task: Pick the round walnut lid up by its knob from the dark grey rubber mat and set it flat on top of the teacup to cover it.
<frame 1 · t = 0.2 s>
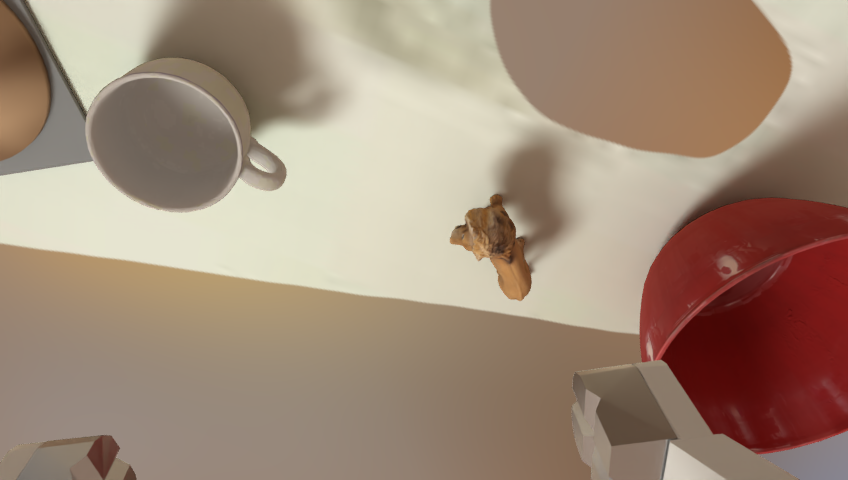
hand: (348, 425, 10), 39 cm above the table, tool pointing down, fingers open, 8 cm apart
teacup: (212, 116, 46), on the table
mixing bowl: (717, 256, 61), on the table
lion figurine: (490, 228, 56), on the table
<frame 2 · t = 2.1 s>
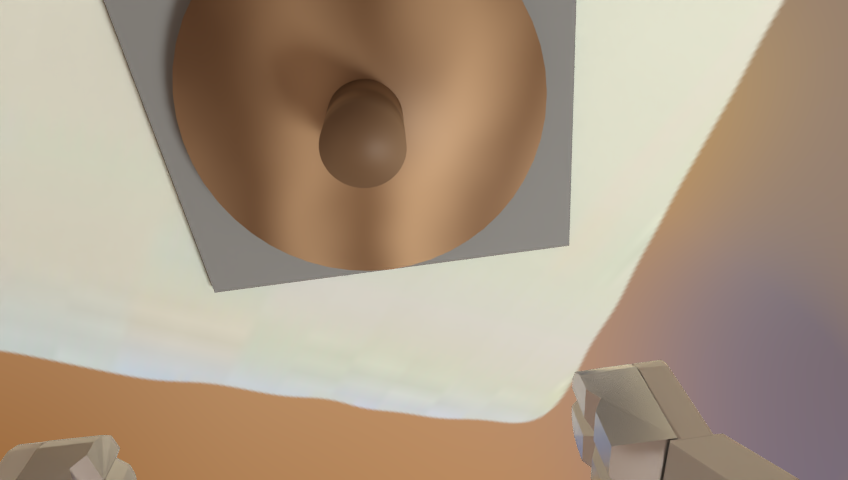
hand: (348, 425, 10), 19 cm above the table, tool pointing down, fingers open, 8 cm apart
lid: (364, 128, 24), on the mat
mat: (365, 109, 26), on the table
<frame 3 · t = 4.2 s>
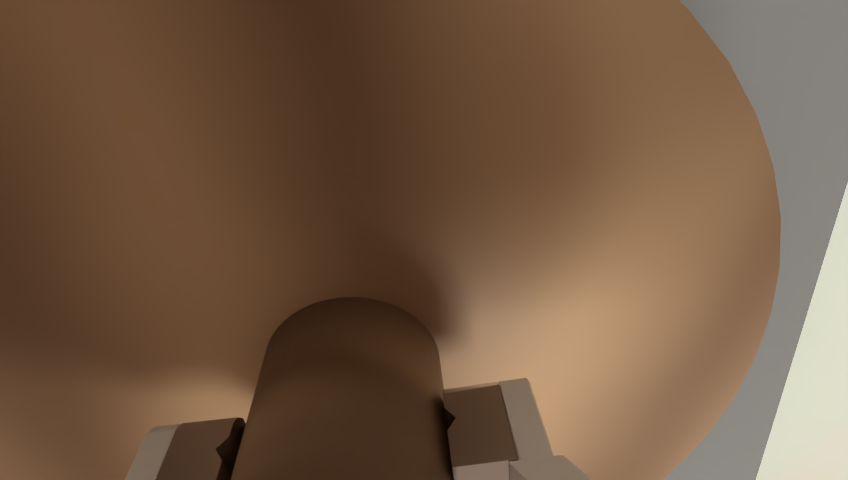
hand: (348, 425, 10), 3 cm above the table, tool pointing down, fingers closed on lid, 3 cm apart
lid: (349, 431, 10), on the mat, touching gripper
mat: (355, 329, 12), on the table
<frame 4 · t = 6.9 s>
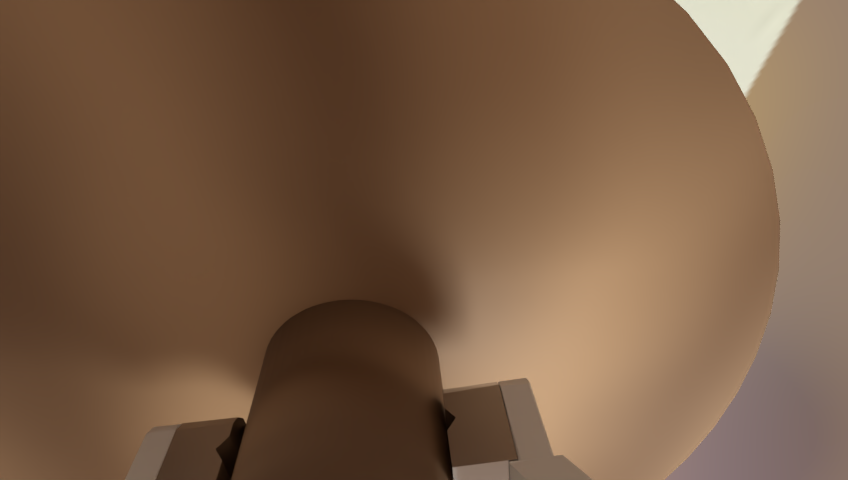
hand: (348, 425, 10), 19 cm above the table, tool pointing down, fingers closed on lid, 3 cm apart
lid: (348, 433, 10), point 19 cm above the table, touching gripper
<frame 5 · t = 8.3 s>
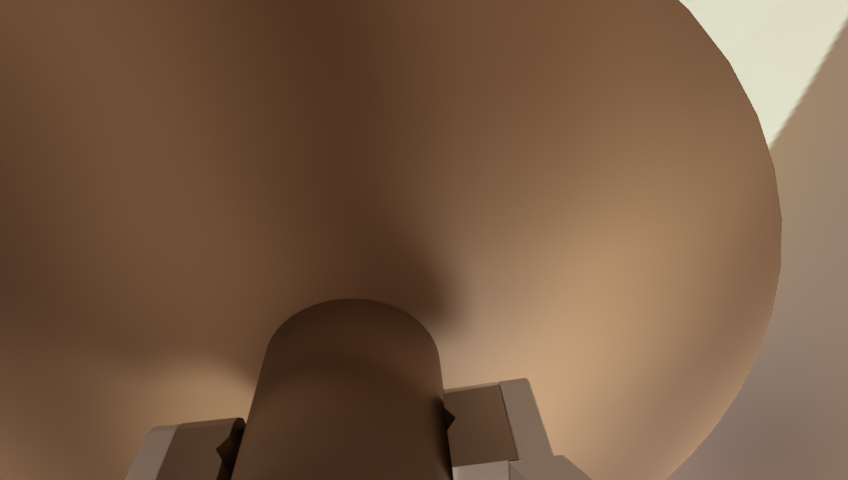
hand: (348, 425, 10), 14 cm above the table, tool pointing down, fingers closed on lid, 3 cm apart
lid: (349, 433, 10), point 15 cm above the table, touching gripper
when the fingers open (12 cm above the table, at t = 9.4 s): lid drops 2 cm, resting on teacup.
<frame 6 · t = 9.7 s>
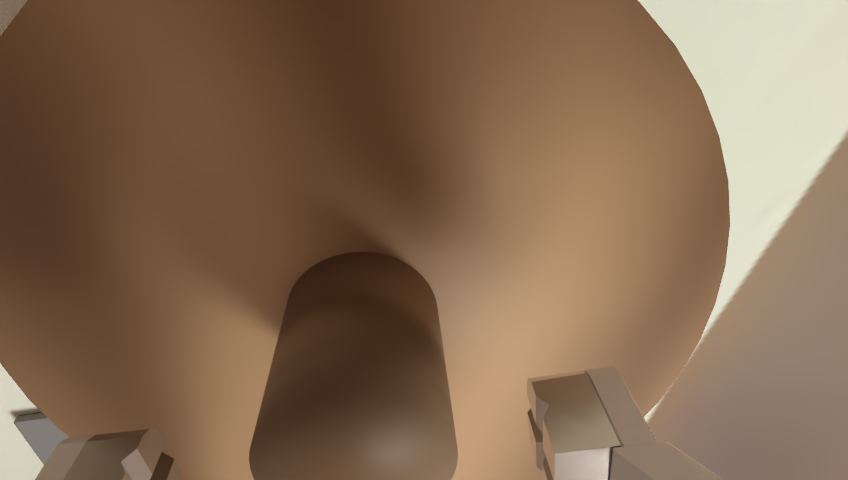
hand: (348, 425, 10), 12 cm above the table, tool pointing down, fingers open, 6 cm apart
lid: (360, 364, 11), point 10 cm above the table, touching teacup
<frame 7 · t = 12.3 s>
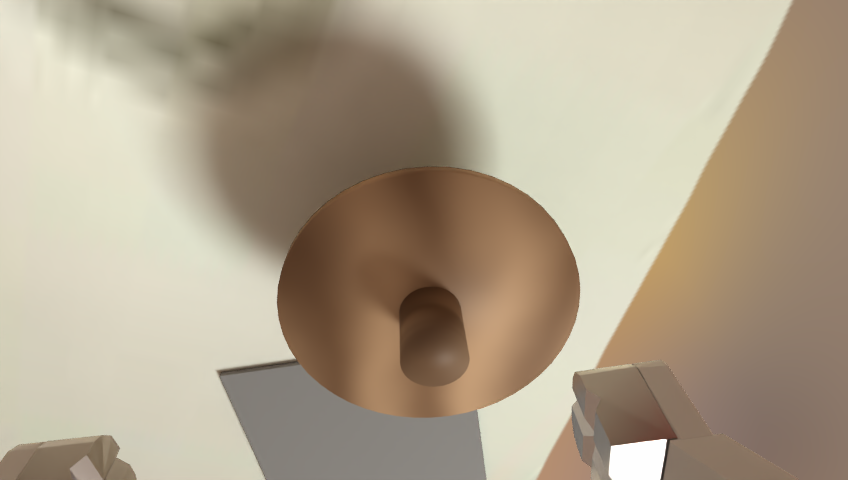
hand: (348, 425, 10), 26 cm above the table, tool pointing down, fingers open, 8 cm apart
lid: (431, 330, 29), point 10 cm above the table, touching teacup
mat: (365, 431, 48), on the table
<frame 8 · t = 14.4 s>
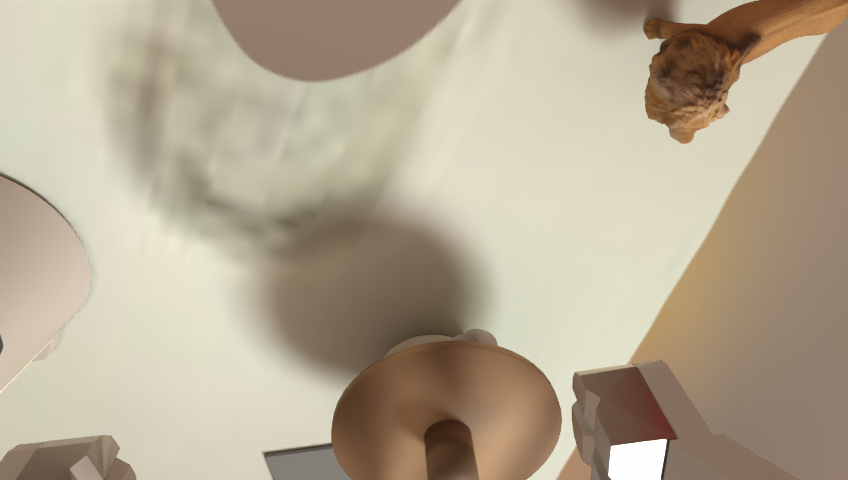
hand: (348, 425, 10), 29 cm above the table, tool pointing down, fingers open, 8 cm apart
teacup: (438, 351, 48), on the table, touching lid
lid: (450, 454, 39), point 10 cm above the table, touching teacup
lion figurine: (704, 28, 35), on the table
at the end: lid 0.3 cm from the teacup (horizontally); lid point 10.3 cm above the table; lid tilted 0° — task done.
